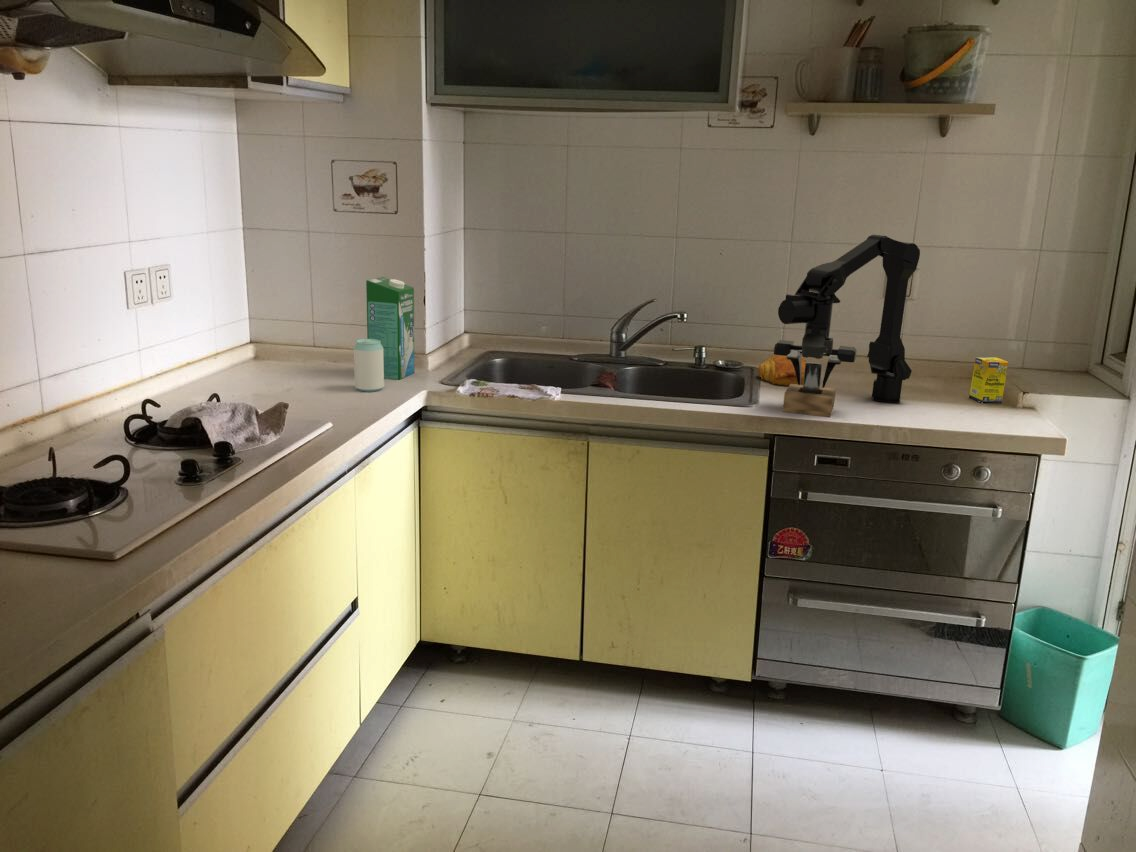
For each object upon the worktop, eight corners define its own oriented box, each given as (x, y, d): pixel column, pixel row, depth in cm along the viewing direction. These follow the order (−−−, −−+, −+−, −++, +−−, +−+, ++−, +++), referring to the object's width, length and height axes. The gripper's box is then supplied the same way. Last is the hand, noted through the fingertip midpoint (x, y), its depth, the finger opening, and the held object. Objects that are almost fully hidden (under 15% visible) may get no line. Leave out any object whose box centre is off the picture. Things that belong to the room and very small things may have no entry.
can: (379, 393, 232) (379, 344, 229) (351, 391, 232) (350, 342, 229) (387, 386, 239) (386, 338, 235) (359, 384, 239) (358, 337, 236)
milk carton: (399, 380, 246) (398, 282, 239) (367, 376, 248) (365, 279, 241) (414, 372, 254) (414, 278, 247) (383, 369, 256) (382, 276, 249)
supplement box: (981, 403, 245) (988, 361, 242) (968, 397, 250) (974, 356, 247) (1002, 403, 246) (1009, 361, 243) (989, 397, 251) (995, 356, 248)
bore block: (833, 406, 236) (835, 388, 235) (829, 417, 226) (832, 398, 225) (788, 401, 239) (790, 383, 238) (782, 411, 229) (784, 393, 228)
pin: (818, 403, 233) (823, 363, 232) (816, 406, 230) (821, 364, 228) (801, 402, 235) (806, 361, 233) (800, 404, 231) (804, 362, 229)
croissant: (758, 381, 270) (756, 353, 268) (815, 377, 267) (813, 349, 265) (759, 391, 256) (757, 362, 254) (819, 387, 253) (818, 358, 252)
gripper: (773, 323, 222) (767, 388, 227) (856, 331, 216) (848, 398, 221) (780, 316, 232) (774, 379, 237) (859, 323, 227) (852, 387, 231)
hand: (811, 386), depth 231 cm, fingers open, 5 cm apart
